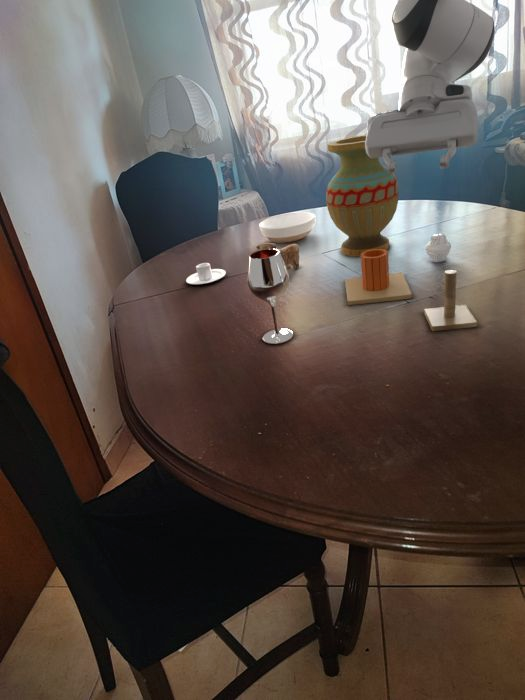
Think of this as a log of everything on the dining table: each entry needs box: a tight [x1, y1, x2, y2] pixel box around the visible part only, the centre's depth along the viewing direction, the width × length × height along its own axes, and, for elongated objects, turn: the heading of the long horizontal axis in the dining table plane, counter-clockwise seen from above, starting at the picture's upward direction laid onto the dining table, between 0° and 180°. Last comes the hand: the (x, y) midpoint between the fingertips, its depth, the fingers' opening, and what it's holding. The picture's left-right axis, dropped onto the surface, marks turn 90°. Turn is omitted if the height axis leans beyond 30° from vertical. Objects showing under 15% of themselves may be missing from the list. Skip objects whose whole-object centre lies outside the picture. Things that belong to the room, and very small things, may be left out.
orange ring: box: [360, 249, 390, 291], centre depth 107 cm, size 6×6×8 cm
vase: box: [325, 134, 399, 257], centre depth 130 cm, size 20×20×30 cm
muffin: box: [425, 233, 452, 263], centre depth 117 cm, size 6×6×7 cm
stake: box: [423, 269, 478, 332], centre depth 88 cm, size 8×8×10 cm
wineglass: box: [247, 248, 294, 345], centre depth 92 cm, size 8×8×18 cm
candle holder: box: [185, 262, 227, 285], centre depth 136 cm, size 12×12×4 cm
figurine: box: [256, 242, 301, 270], centre depth 128 cm, size 7×16×10 cm, turn 139°
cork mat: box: [344, 271, 413, 306], centre depth 109 cm, size 14×14×1 cm
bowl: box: [258, 211, 317, 244], centre depth 159 cm, size 20×20×6 cm
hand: (417, 169), depth 86 cm, fingers open, 8 cm apart
